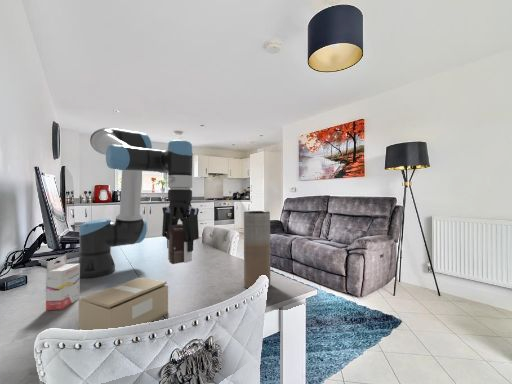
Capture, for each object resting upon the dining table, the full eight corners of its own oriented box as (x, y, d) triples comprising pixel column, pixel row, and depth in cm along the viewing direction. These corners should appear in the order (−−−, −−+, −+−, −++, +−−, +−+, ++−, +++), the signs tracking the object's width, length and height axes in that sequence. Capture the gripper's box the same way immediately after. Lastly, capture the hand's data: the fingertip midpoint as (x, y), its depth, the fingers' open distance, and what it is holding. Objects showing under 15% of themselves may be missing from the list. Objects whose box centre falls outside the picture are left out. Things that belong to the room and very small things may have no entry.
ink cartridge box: (62, 310, 74) (62, 260, 74) (45, 310, 73) (45, 261, 73) (80, 298, 82) (80, 254, 82) (65, 298, 82) (65, 254, 82)
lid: (81, 300, 61) (81, 297, 62) (140, 279, 77) (140, 276, 77) (108, 307, 56) (108, 304, 56) (166, 283, 71) (166, 281, 71)
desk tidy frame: (38, 264, 123) (38, 259, 123) (82, 255, 141) (82, 251, 141) (59, 269, 114) (59, 264, 114) (103, 259, 132) (103, 254, 132)
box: (172, 265, 76) (172, 226, 76) (168, 261, 79) (168, 224, 79) (191, 261, 79) (191, 224, 79) (187, 258, 83) (186, 223, 83)
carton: (78, 331, 62) (78, 299, 62) (138, 304, 77) (138, 278, 77) (110, 345, 56) (110, 310, 56) (168, 313, 71) (168, 285, 71)
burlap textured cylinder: (239, 288, 89) (239, 212, 89) (250, 279, 98) (249, 210, 99) (265, 292, 85) (264, 213, 86) (273, 282, 95) (273, 211, 95)
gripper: (150, 188, 80) (149, 259, 80) (195, 188, 71) (194, 267, 72) (167, 189, 87) (167, 253, 87) (211, 189, 78) (210, 261, 78)
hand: (179, 260), depth 79 cm, fingers closed on box, 6 cm apart
